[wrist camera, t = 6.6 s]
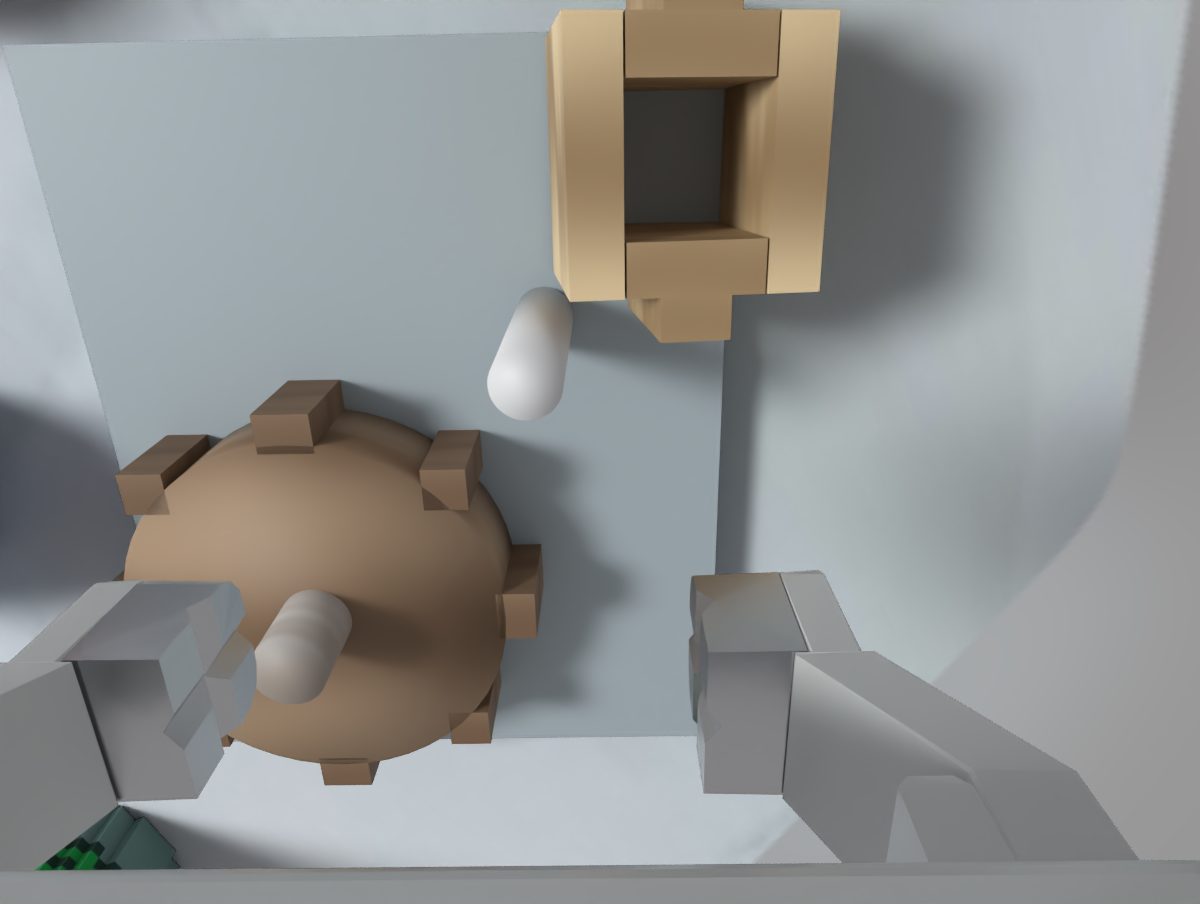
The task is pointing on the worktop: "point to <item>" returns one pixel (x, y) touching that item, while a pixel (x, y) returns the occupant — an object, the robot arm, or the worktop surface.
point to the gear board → (404, 305)
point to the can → (115, 847)
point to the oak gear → (748, 166)
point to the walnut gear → (344, 573)
